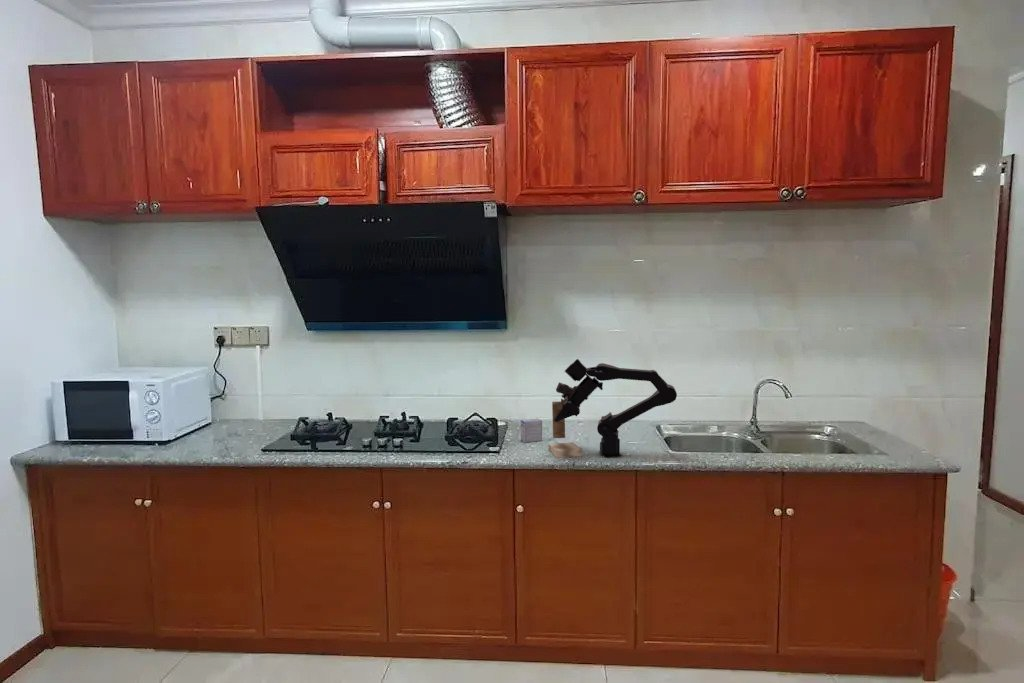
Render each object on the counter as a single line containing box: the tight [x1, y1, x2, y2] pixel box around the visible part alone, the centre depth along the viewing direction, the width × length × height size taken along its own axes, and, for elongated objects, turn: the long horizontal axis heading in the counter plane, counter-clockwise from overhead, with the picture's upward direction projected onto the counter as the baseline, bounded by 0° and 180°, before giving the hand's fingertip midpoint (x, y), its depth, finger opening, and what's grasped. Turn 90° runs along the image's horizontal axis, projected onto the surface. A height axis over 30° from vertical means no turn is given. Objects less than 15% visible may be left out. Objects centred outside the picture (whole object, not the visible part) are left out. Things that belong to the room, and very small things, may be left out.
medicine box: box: [520, 417, 543, 443], centre depth 246 cm, size 8×4×9 cm, turn 111°
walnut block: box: [551, 401, 566, 439], centre depth 227 cm, size 4×4×13 cm
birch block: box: [548, 441, 582, 459], centre depth 228 cm, size 10×10×3 cm
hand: (555, 419), depth 227 cm, fingers closed on walnut block, 4 cm apart
